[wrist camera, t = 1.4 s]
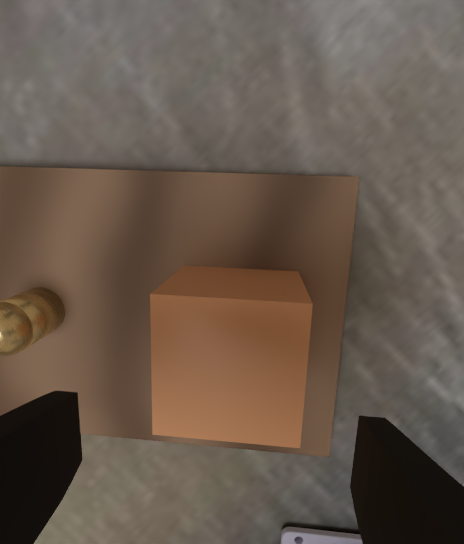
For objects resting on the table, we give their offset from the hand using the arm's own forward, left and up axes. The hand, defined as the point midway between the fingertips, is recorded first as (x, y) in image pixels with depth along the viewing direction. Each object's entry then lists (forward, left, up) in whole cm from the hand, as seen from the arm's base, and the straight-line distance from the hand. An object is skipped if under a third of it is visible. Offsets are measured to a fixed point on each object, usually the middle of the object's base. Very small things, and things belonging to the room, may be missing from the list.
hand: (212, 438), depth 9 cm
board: (+5, 0, -10) cm, 11 cm away
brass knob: (+10, 0, -8) cm, 13 cm away
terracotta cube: (0, 0, -8) cm, 8 cm away
